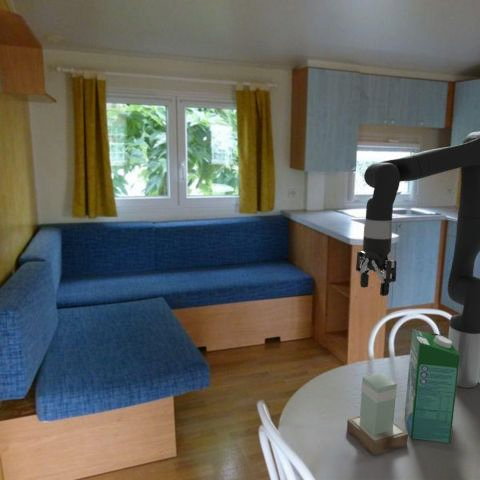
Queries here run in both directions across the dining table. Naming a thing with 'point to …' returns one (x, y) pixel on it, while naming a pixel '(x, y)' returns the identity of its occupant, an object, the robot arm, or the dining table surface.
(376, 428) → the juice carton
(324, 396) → the dining table surface
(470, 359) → the robot arm
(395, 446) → the walnut podium
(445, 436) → the milk carton
